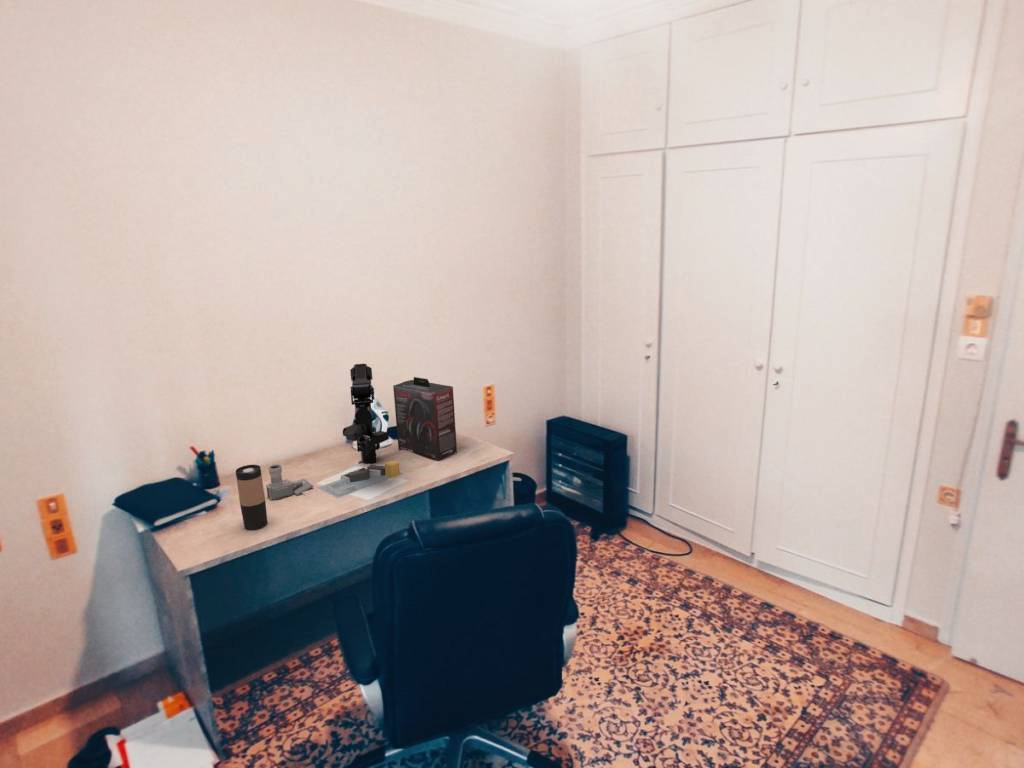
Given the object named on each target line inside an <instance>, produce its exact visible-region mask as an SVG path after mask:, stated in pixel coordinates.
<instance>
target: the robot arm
mask: <svg viewBox="0 0 1024 768" xmlns="http://www.w3.org/2000/svg"><path fill="white" fill-rule="evenodd" d="M349 371H350V380H351V385H352V386H350V387H349V388H350V396H351V397H350V401H351V406H352V405H354V419H353V424H351V425H349V426H345V427H344V428H343V429H342V436H343V437H345V438H346V440H347V441H352V442H356V447H357V449H356V450H357V452H358V453H359V452H360V457H361V460H360V461H358V464H362V463H363V464H370V465H374V464H376V463H378V459H377V457H378V456H377V451H379V449H381V443H384V442H385V441H388V440H389V439H390V437H389V436H390V435H389V433H388V432H387V431H382V430H378V431H376V427H375V426H374V425H373V421H375V417H374V416H373V414H372V413H373V412H372V404H373V403H374V400H375V388H374V387H373V385H372V380H373V370H372V367H371V366H368V365H367V363H355V364H353V367H352V368H350V370H349Z"/></svg>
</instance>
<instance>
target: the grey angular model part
mask: <svg viewBox="0 0 1024 768" xmlns="http://www.w3.org/2000/svg"><path fill="white" fill-rule="evenodd" d="M268 473H269V475H270V483H269V484H266V486H265V487H266V494H267V498H268V499H269V500H270V501H273V500H274V501H275V500H279V499H283V498H287V497H289V496H293V495H295V496H298V495H300V494H303V492H306V491H308V490H310V489H311V488H313V487H314V485H313V484H311V483H310V482H309V481H308V480H306V479H305V478H301V479H296V480H293V481H292V480H288V479H283V478H282V476H283V475H282V473H283V472H282V465H281V464H276V463H275V464H272V465H269V466H268Z"/></svg>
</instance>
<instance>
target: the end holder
mask: <svg viewBox="0 0 1024 768" xmlns="http://www.w3.org/2000/svg"><path fill="white" fill-rule="evenodd" d="M337 481H338V480H337ZM334 482H335V481H334ZM343 485H345V480H341V481H338V482H335V483H333V484H330V485H327V486H326V490H327V491H329V492H331V493H333V494H335V495H336V496H341V495H344V494H346V493H349V492H352V491H354V490H356V487H355V485H352V486H350V487H347V488H344V489H341V490H337V489H335V488H337V487H340V486H343Z"/></svg>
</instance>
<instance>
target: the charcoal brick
mask: <svg viewBox="0 0 1024 768" xmlns="http://www.w3.org/2000/svg"><path fill="white" fill-rule="evenodd" d="M353 471H354V472H352V471H350V472H348V473H349V478H350V483H351V482H356V481H362V480H367V479H369V473H368V470H367V468H366V469H365V470H360V471H355V470H353Z"/></svg>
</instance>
